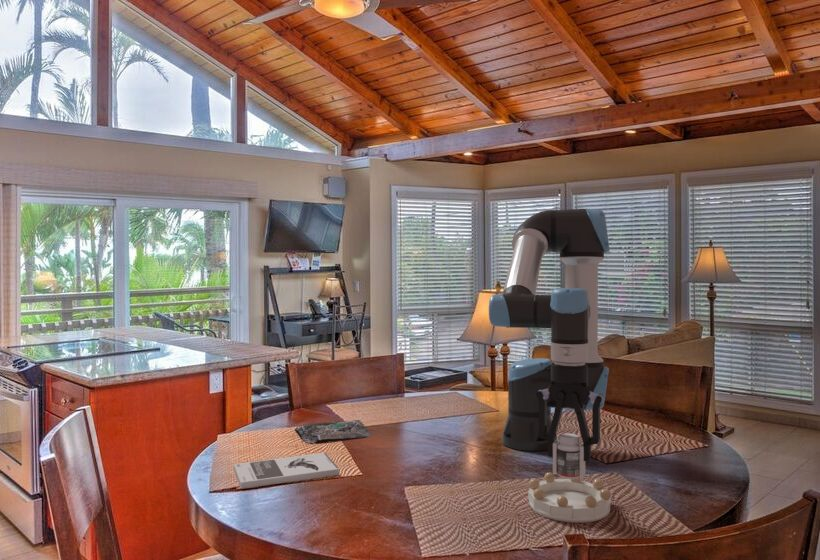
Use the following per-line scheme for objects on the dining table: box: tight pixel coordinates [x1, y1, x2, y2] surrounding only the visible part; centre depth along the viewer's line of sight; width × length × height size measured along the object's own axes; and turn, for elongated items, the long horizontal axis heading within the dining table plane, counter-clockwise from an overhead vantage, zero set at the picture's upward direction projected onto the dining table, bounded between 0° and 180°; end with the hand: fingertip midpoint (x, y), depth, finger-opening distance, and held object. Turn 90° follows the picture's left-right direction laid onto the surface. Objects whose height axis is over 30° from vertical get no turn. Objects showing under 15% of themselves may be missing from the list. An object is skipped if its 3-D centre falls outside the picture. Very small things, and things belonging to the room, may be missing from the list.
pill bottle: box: [556, 433, 581, 479], centre depth 131 cm, size 5×5×8 cm
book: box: [233, 452, 340, 490], centre depth 154 cm, size 23×14×2 cm, turn 112°
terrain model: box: [294, 419, 372, 445], centre depth 187 cm, size 20×15×3 cm
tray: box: [527, 472, 612, 524], centre depth 132 cm, size 17×17×5 cm
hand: (569, 473), depth 132 cm, fingers closed on pill bottle, 5 cm apart
